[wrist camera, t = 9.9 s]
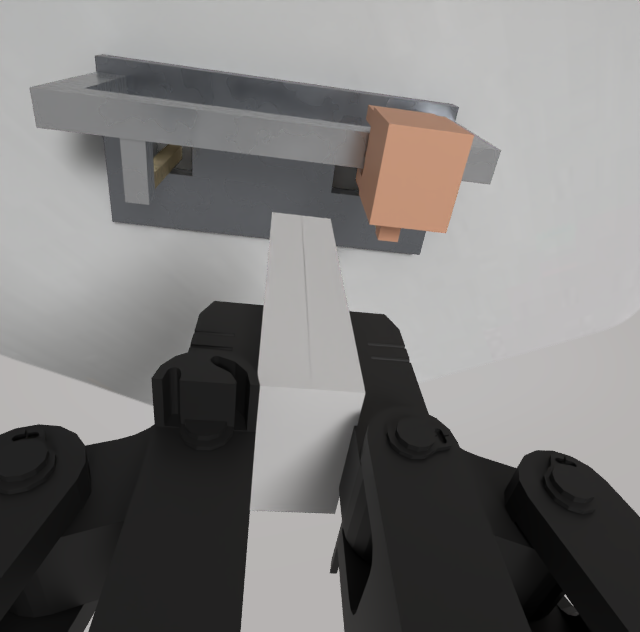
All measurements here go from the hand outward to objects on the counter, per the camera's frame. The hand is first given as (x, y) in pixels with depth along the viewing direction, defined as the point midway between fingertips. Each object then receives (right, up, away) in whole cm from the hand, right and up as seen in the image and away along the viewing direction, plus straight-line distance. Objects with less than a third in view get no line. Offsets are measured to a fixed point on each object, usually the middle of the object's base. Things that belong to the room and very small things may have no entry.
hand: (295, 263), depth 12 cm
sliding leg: (+5, +12, +23) cm, 26 cm away
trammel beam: (-3, +13, +24) cm, 27 cm away
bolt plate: (-3, +11, +25) cm, 28 cm away
